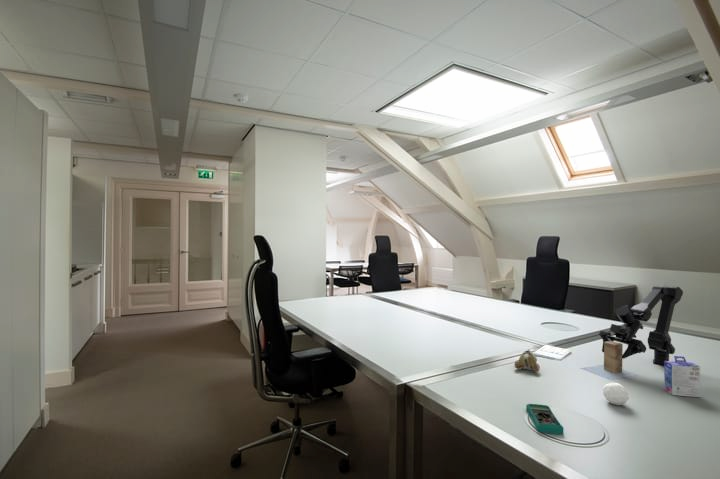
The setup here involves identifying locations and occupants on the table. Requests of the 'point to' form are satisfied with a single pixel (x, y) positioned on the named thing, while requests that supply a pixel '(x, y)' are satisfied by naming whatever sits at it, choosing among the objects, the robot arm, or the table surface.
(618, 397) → the geometric ball
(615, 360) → the walnut block
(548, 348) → the calculator
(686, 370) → the ink cartridge box
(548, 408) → the digital multimeter
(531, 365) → the ceramic sculpture
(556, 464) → the table surface
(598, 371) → the desk pad
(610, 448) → the table surface
